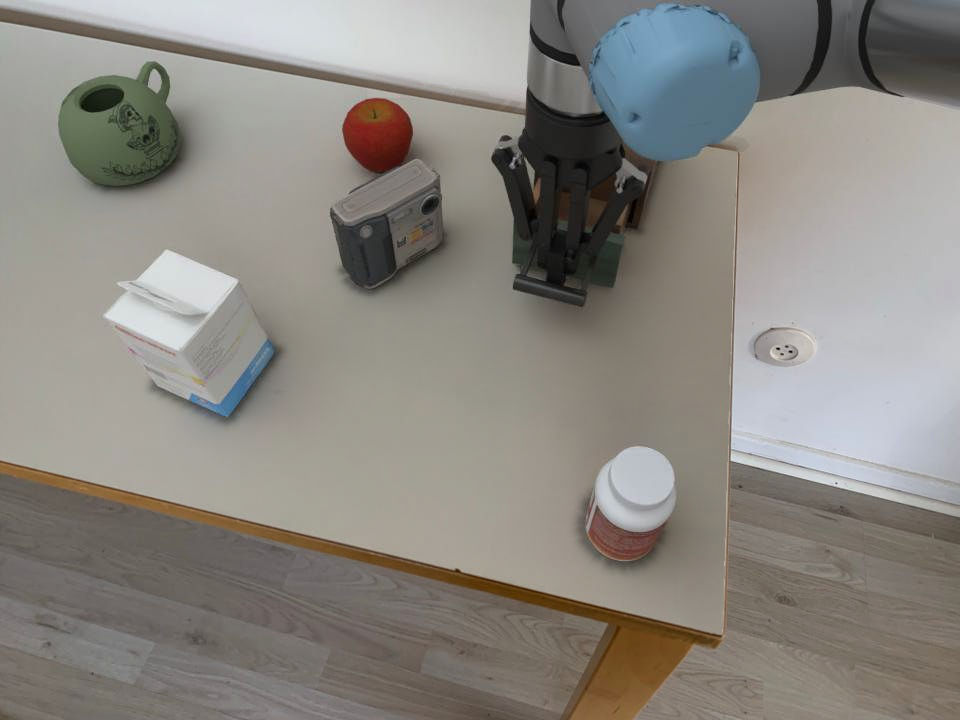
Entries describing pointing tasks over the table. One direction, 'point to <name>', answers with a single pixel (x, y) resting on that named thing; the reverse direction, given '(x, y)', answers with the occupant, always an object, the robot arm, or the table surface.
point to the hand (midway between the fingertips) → (555, 288)
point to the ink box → (192, 331)
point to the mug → (119, 128)
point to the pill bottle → (631, 503)
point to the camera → (388, 222)
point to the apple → (378, 134)
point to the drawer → (589, 268)
